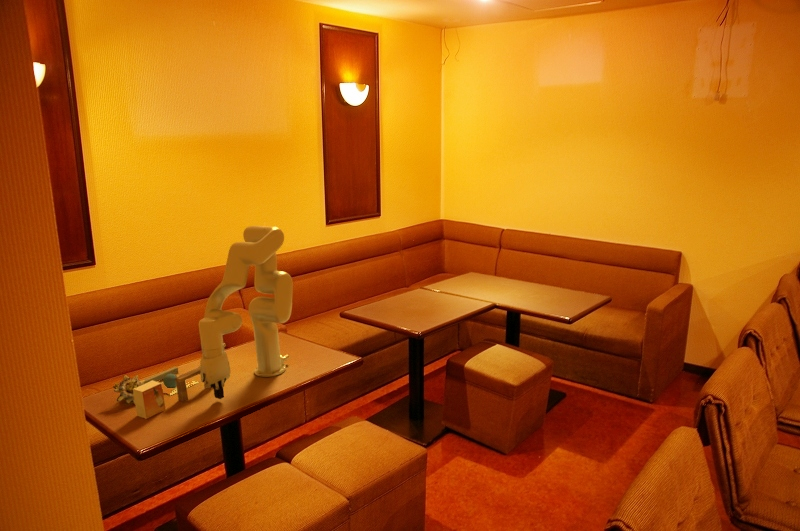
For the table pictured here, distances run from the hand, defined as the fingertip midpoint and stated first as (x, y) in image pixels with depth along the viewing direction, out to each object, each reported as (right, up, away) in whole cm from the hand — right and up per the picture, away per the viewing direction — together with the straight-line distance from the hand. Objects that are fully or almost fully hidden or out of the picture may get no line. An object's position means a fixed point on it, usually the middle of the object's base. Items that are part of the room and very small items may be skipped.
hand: (219, 397), depth 206 cm
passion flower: (-34, -2, +5) cm, 35 cm away
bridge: (-11, 0, +7) cm, 13 cm away
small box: (-22, -4, -6) cm, 23 cm away
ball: (-23, +3, +13) cm, 27 cm away
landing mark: (-22, +1, +15) cm, 27 cm away
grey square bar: (-31, +2, +21) cm, 37 cm away
